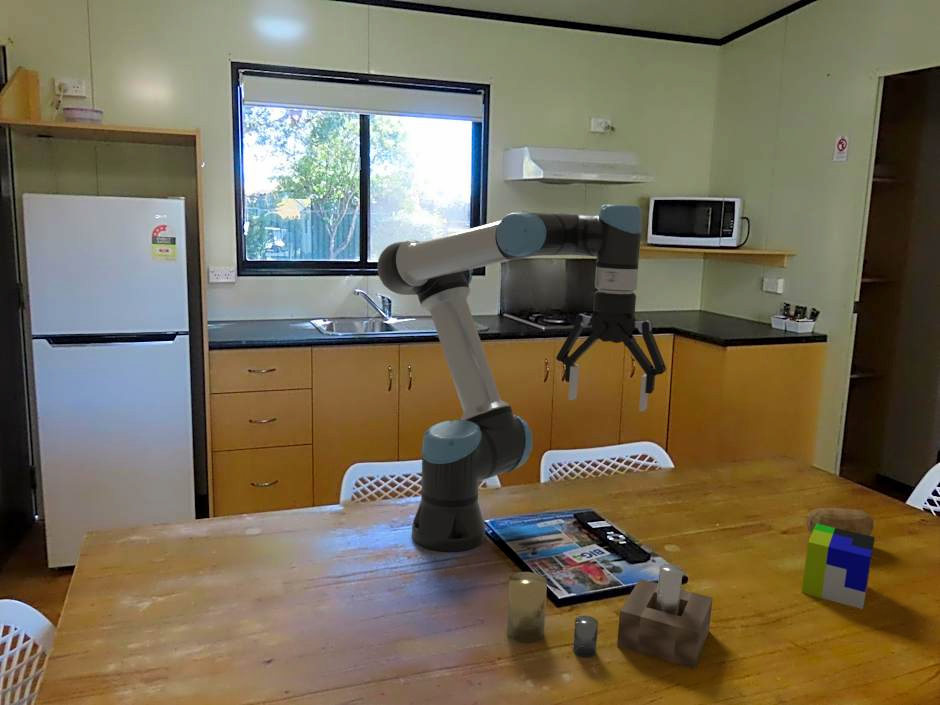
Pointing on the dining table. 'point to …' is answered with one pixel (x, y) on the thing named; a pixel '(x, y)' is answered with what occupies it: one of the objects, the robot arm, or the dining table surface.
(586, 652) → the short dark roller
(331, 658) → the dining table surface
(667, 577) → the steel roller
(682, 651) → the walnut block
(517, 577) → the fat brass roller
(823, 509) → the potato
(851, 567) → the puzzle toy
